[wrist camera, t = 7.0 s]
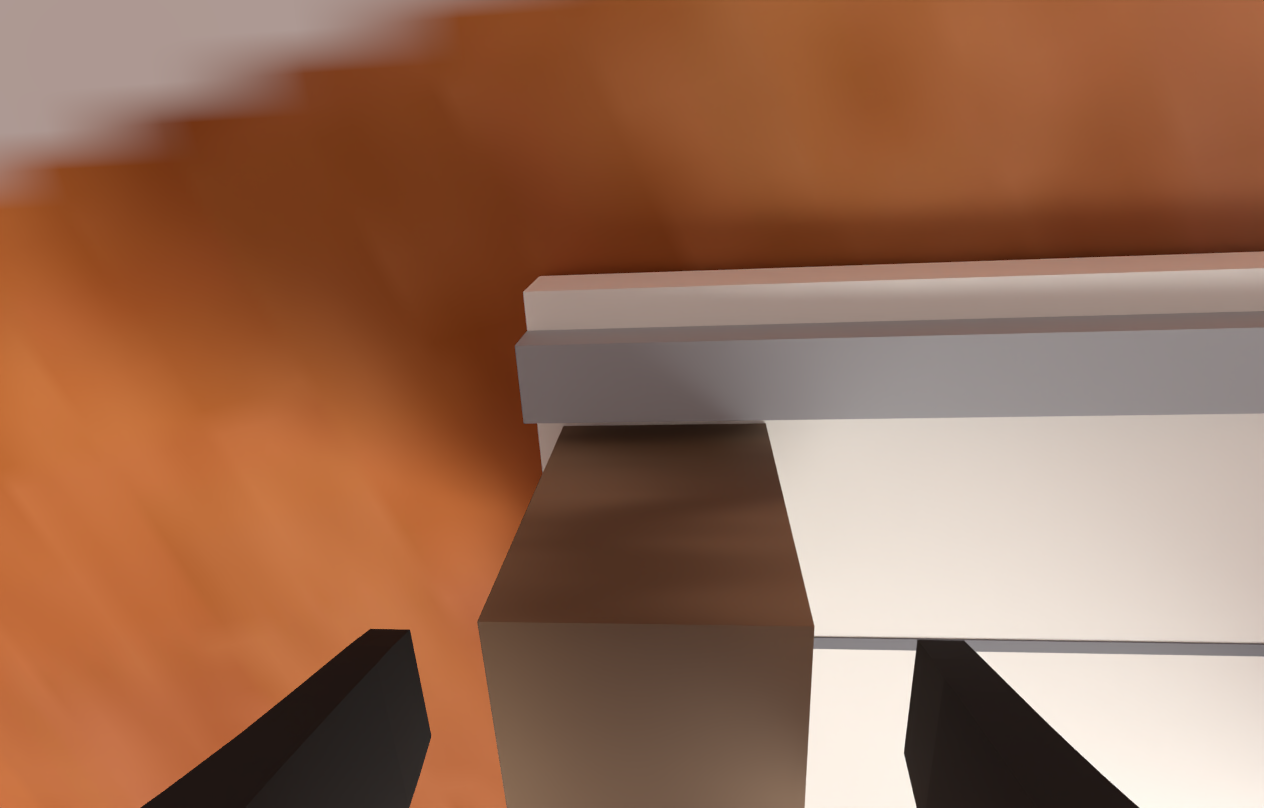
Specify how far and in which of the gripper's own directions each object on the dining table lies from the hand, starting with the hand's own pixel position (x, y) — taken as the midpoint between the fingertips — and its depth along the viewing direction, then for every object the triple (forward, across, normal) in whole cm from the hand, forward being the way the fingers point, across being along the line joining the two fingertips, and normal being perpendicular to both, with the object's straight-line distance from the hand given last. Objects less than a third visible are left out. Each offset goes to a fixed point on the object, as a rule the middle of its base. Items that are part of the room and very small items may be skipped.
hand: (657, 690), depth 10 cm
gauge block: (+5, 0, 0) cm, 5 cm away
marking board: (+6, -6, +2) cm, 9 cm away
